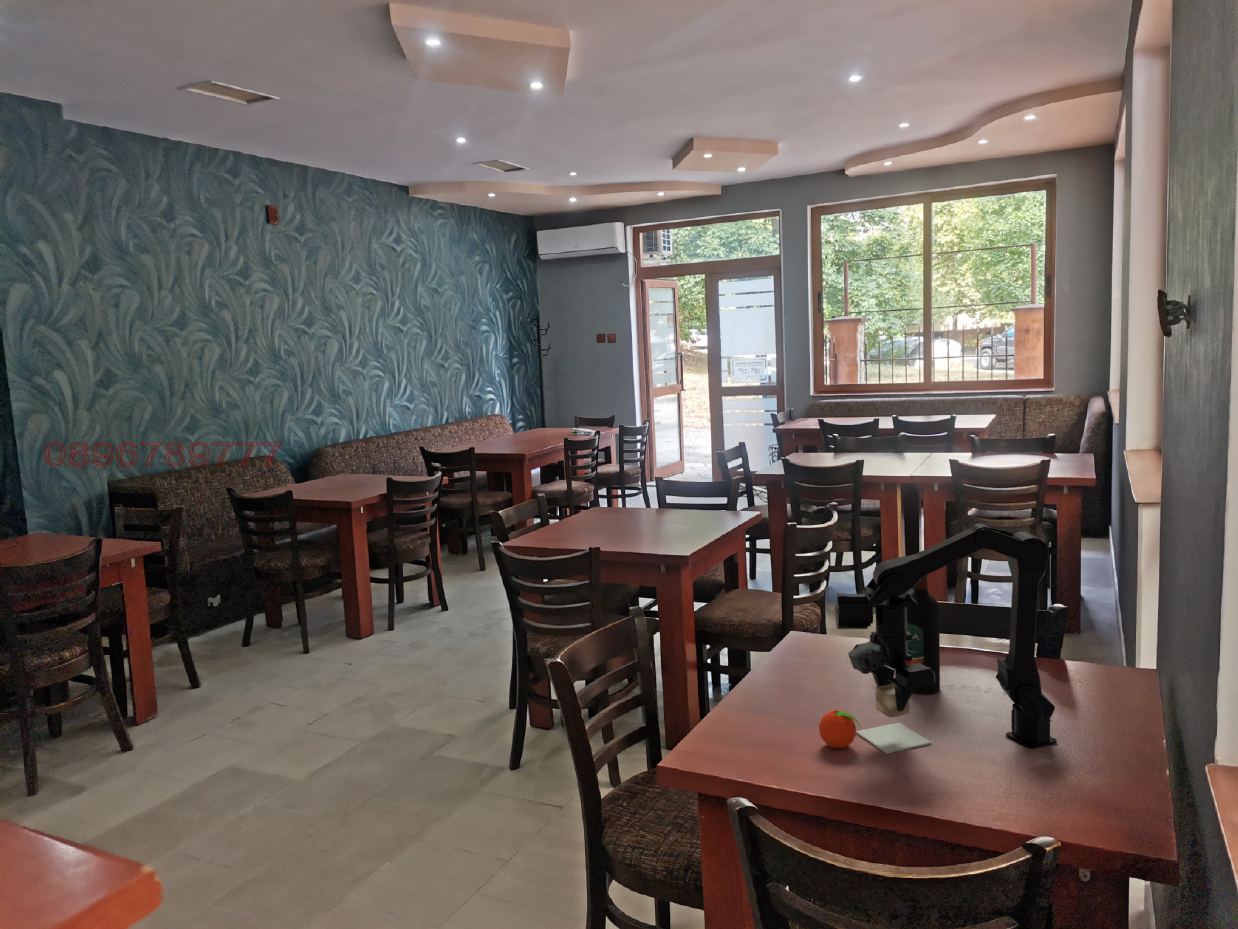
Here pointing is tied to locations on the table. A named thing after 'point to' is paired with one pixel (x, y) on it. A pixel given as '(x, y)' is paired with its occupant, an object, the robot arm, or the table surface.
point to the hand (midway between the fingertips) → (892, 706)
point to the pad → (893, 738)
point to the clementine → (837, 729)
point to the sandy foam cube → (889, 701)
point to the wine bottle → (924, 634)
